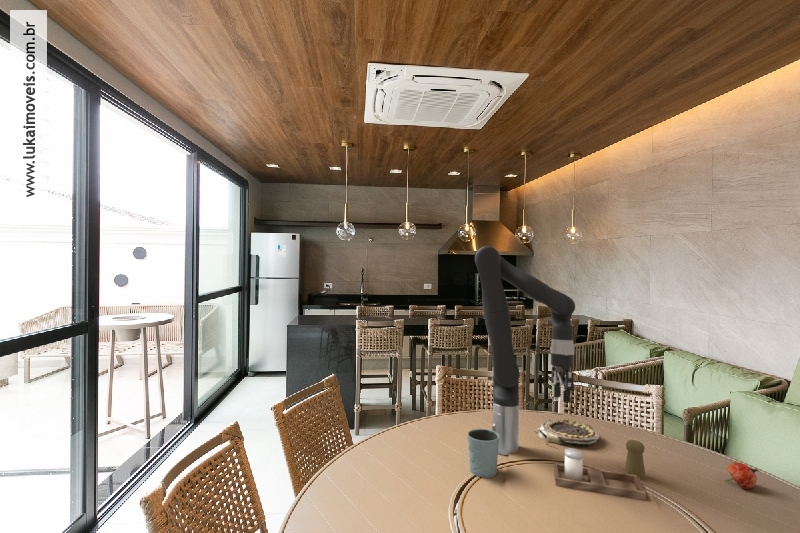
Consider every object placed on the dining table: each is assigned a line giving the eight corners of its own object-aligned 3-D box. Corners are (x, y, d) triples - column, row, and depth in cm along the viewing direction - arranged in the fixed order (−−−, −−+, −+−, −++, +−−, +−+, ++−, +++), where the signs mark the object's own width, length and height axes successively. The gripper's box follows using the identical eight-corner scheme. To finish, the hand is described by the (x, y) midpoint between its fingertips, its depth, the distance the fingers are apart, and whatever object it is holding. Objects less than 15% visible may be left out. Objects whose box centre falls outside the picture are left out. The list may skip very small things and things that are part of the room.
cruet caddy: (555, 488, 122) (555, 478, 122) (553, 472, 133) (553, 462, 133) (646, 503, 115) (646, 493, 115) (636, 484, 125) (636, 475, 125)
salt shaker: (565, 482, 124) (565, 454, 124) (563, 474, 129) (564, 447, 129) (583, 485, 123) (583, 456, 123) (581, 477, 128) (581, 449, 128)
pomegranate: (729, 495, 125) (763, 485, 119) (712, 469, 129) (744, 459, 123) (736, 490, 129) (770, 481, 123) (720, 466, 133) (752, 456, 127)
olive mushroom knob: (648, 481, 128) (649, 446, 128) (628, 479, 129) (628, 444, 129) (641, 472, 134) (641, 438, 134) (621, 470, 135) (621, 436, 135)
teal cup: (501, 468, 135) (502, 431, 135) (495, 482, 126) (495, 443, 126) (471, 461, 139) (472, 426, 139) (463, 474, 130) (464, 437, 130)
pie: (563, 422, 180) (563, 410, 180) (624, 445, 157) (624, 432, 157) (519, 434, 165) (519, 421, 166) (579, 461, 142) (580, 447, 142)
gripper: (544, 350, 151) (544, 394, 149) (559, 354, 137) (558, 403, 135) (565, 351, 151) (564, 396, 149) (581, 355, 137) (581, 404, 135)
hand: (561, 399), depth 142 cm, fingers open, 8 cm apart
